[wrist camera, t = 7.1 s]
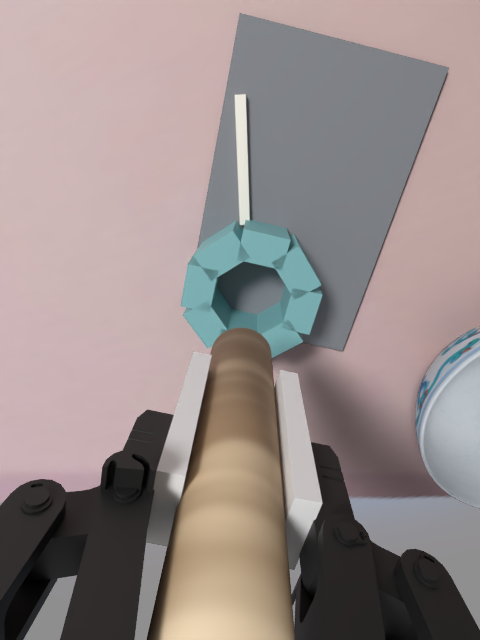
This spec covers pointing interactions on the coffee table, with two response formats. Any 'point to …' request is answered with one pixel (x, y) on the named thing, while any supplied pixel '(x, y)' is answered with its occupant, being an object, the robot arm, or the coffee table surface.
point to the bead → (263, 249)
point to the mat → (317, 159)
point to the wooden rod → (230, 510)
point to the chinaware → (452, 419)
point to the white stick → (242, 157)
